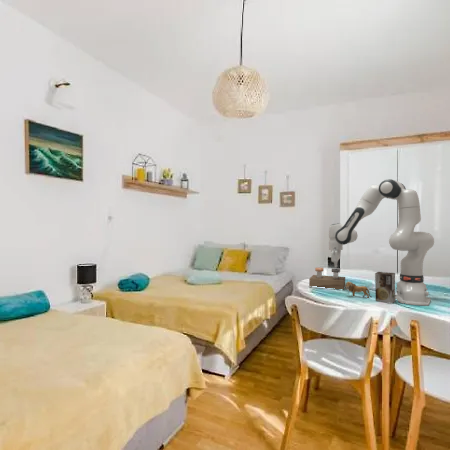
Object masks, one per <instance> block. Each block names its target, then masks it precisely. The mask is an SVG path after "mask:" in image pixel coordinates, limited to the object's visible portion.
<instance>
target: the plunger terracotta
mask: <svg viewBox="0 0 450 450" xmlns="http://www.w3.org/2000/svg"><path fill="white" fill-rule="evenodd" d="M314 270H315V272H316V275H317V278H322V275H323V272H324V270H325V269H324V267H318V266H317V267H314Z"/></svg>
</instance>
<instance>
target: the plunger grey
mask: <svg viewBox="0 0 450 450" xmlns="http://www.w3.org/2000/svg"><path fill="white" fill-rule="evenodd" d="M340 272H341V268H338V267H333V268H331V273H333V275H332V276H333V279H338V276H339V273H340Z"/></svg>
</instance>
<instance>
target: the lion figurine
mask: <svg viewBox="0 0 450 450" xmlns="http://www.w3.org/2000/svg"><path fill="white" fill-rule="evenodd" d="M345 289H346V290H347V291H349V292H351V293H352V294H351V295H353V296H355V295H356V294H355V293H361V292H362V293H363V296H365V297H366V299H367V298H369V299H370V298H372V296H371V294H370V290H369V289H368V287H366V286H365V285H364V286H363V285H361V286H358V285H356V283H353V282H352V281H346V282H345Z"/></svg>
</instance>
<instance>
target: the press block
mask: <svg viewBox="0 0 450 450" xmlns="http://www.w3.org/2000/svg"><path fill="white" fill-rule="evenodd" d="M308 281H309V283H308V284H309V285H308V286H317V287H325V288H335V289H344V290H345V288H346V276H339V275H338V279H333V275H324V274H322V278H317V274H313V275H312V276H311V277H310V278H309V280H308ZM344 287H345V288H344ZM335 289H334V290H335Z"/></svg>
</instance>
